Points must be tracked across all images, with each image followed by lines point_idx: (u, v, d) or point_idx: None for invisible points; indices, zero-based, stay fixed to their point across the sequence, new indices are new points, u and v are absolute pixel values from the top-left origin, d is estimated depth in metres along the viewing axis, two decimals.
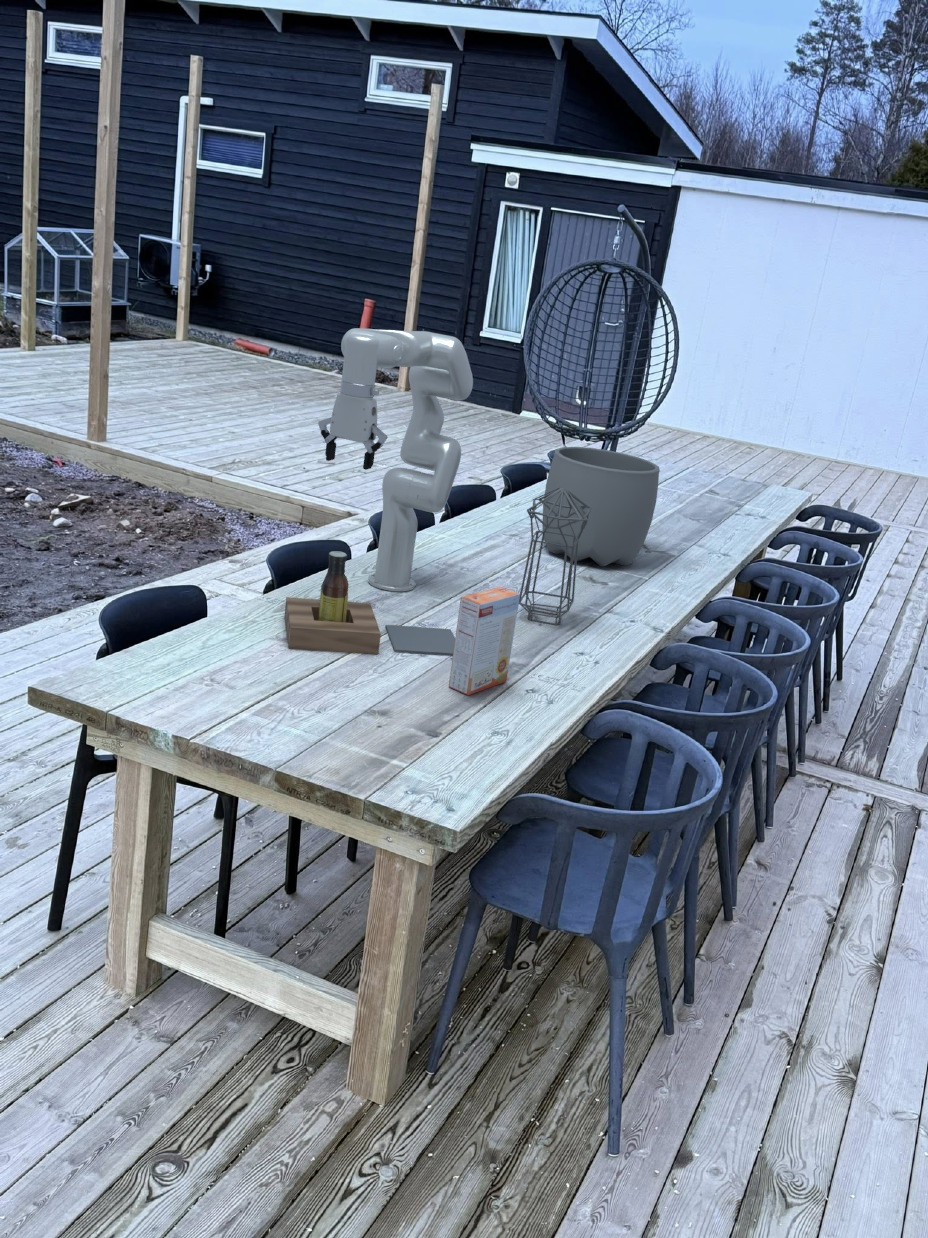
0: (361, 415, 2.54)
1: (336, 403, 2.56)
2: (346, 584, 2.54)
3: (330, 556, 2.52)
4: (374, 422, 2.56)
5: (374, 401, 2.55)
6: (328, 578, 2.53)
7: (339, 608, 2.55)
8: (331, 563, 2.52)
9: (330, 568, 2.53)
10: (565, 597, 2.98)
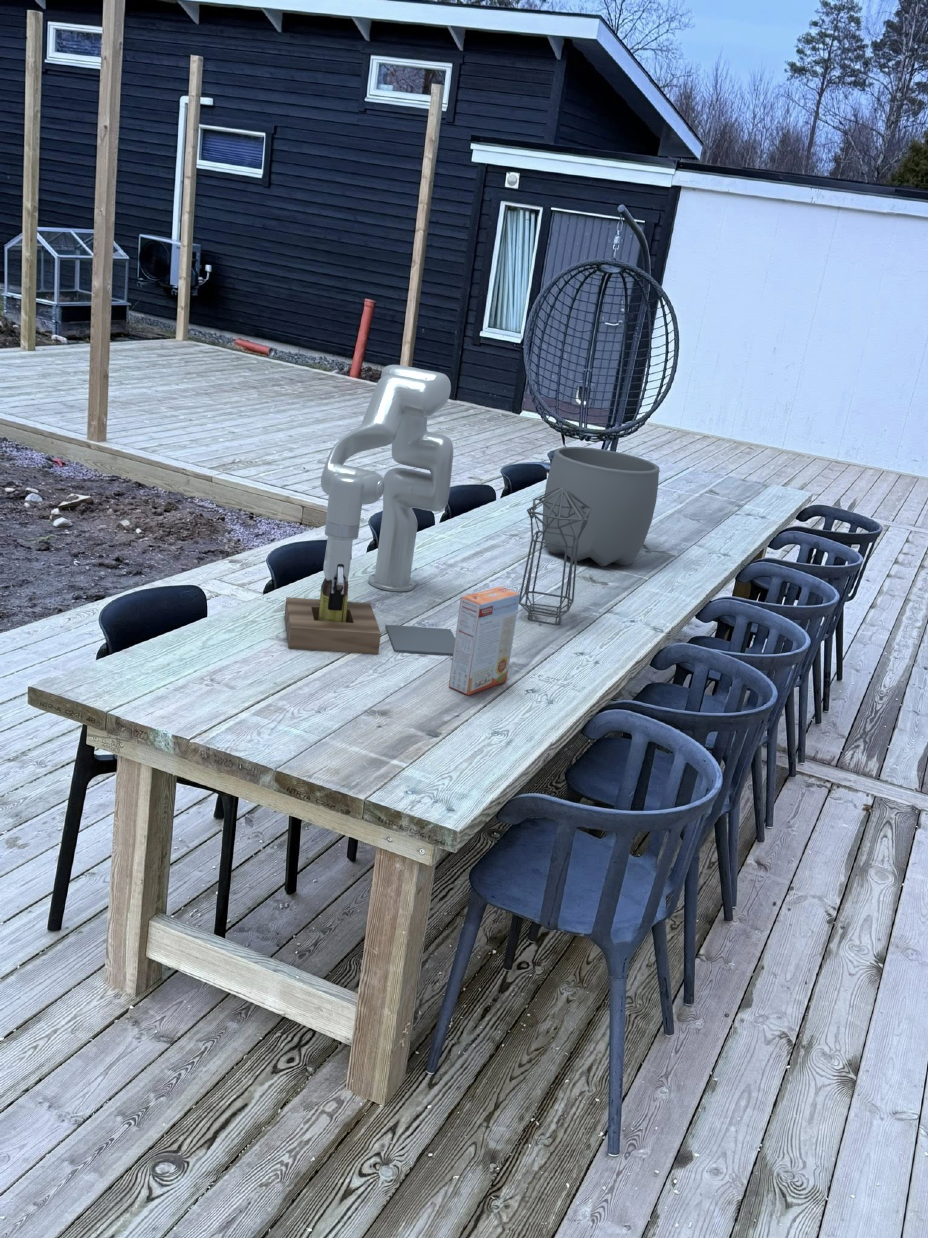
0: None
1: (351, 550, 2.50)
2: (346, 584, 2.54)
3: None
4: None
5: None
6: None
7: None
8: None
9: None
10: (565, 597, 2.98)
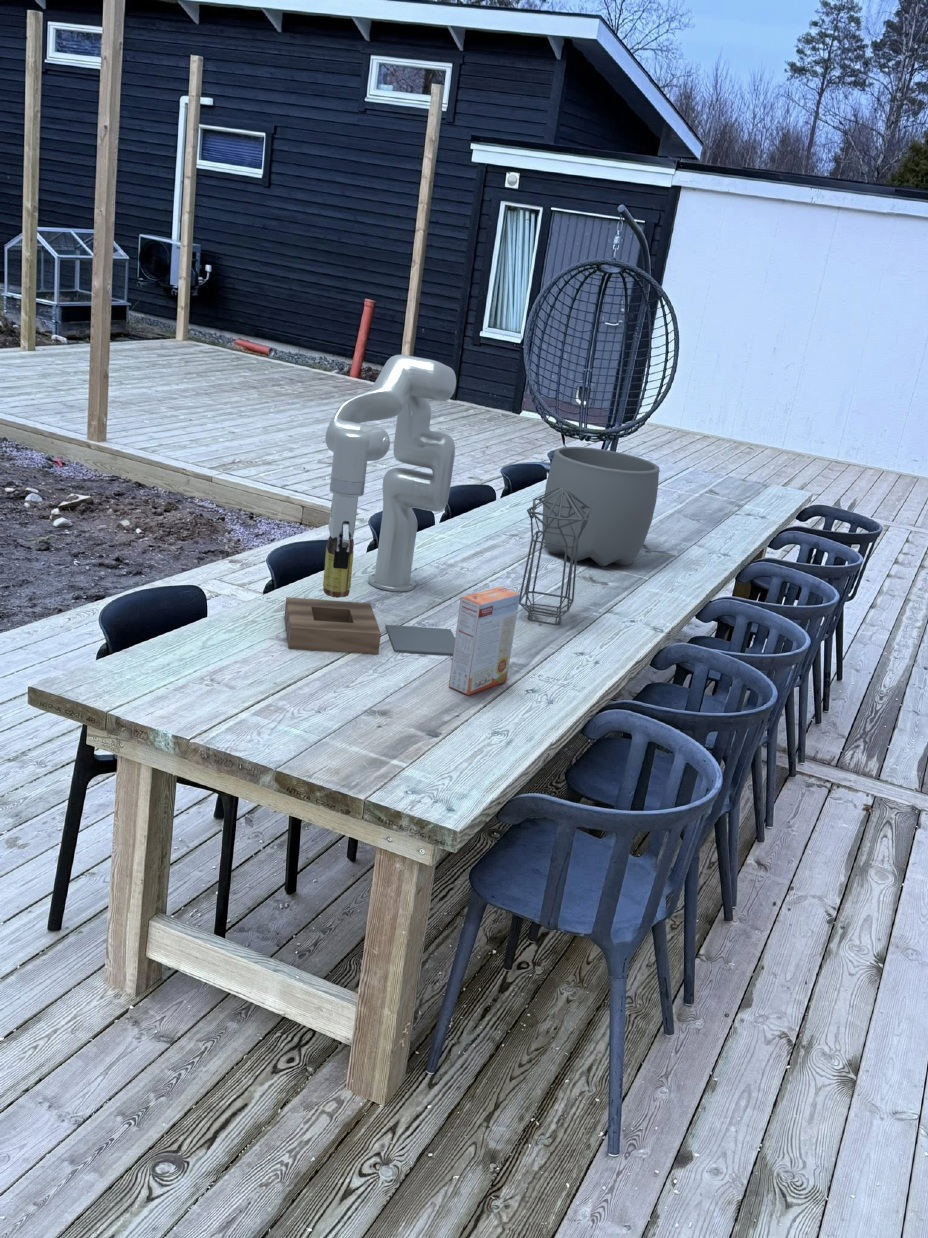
0: None
1: (356, 506, 2.47)
2: (351, 542, 2.52)
3: None
4: None
5: None
6: None
7: None
8: None
9: None
10: (565, 597, 2.98)
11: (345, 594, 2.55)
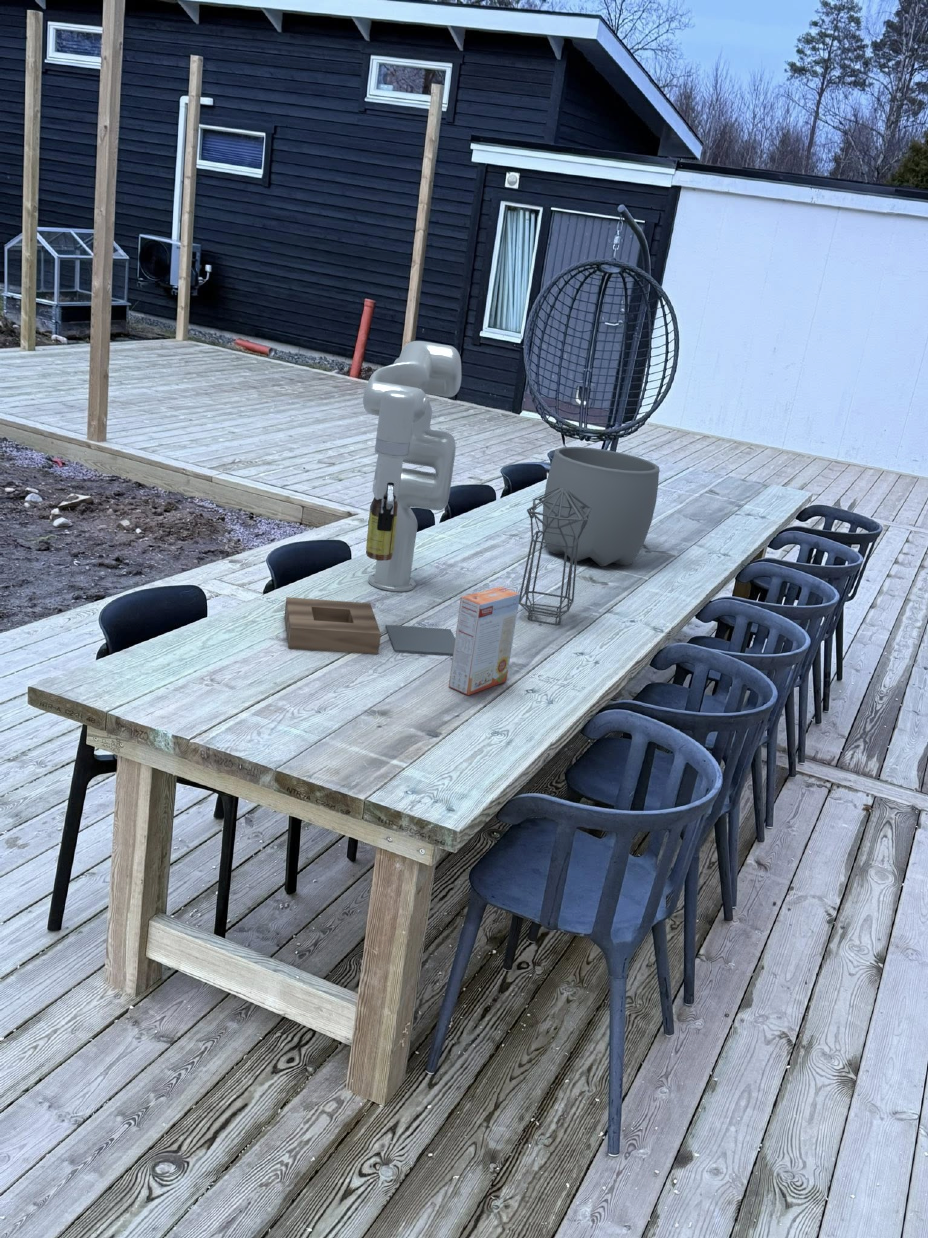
0: None
1: (401, 468, 2.45)
2: (395, 504, 2.50)
3: None
4: None
5: None
6: None
7: None
8: None
9: None
10: (565, 597, 2.98)
11: (388, 557, 2.54)
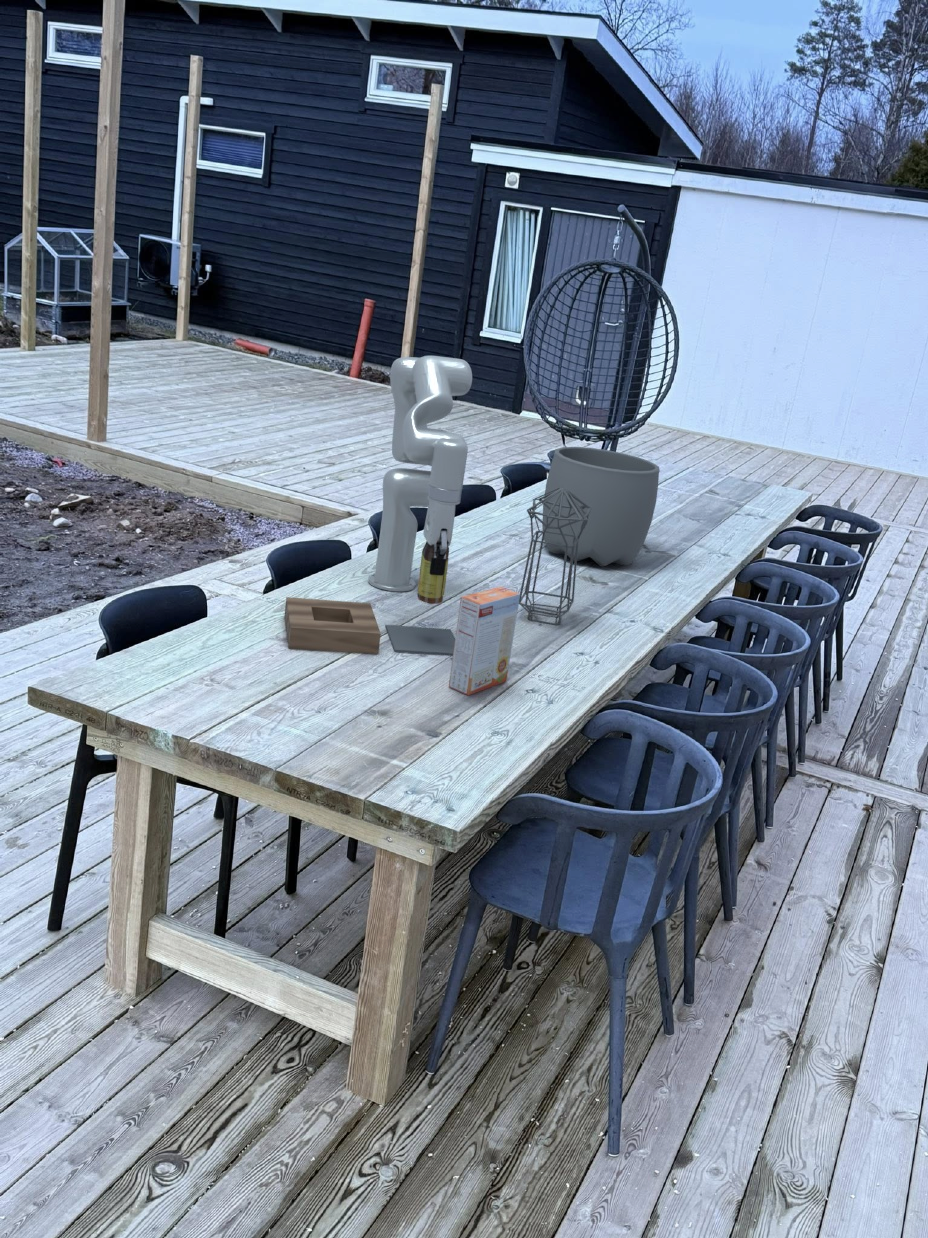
0: None
1: (454, 514, 2.52)
2: (447, 549, 2.56)
3: None
4: None
5: None
6: None
7: None
8: None
9: None
10: (565, 597, 2.98)
11: (439, 600, 2.60)
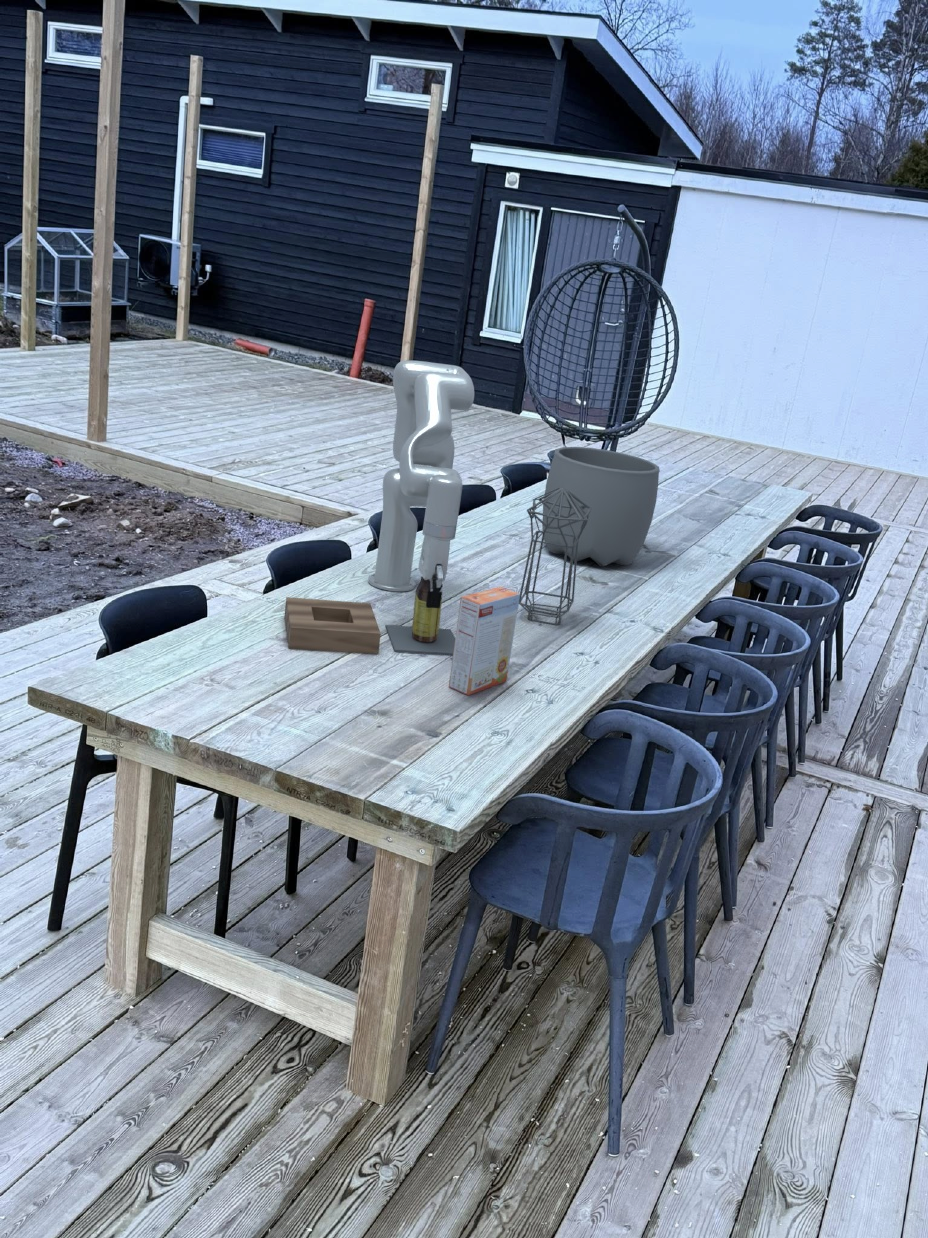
0: None
1: None
2: None
3: None
4: None
5: None
6: (423, 583, 2.58)
7: (434, 612, 2.60)
8: None
9: None
10: (565, 597, 2.98)
11: (434, 639, 2.63)
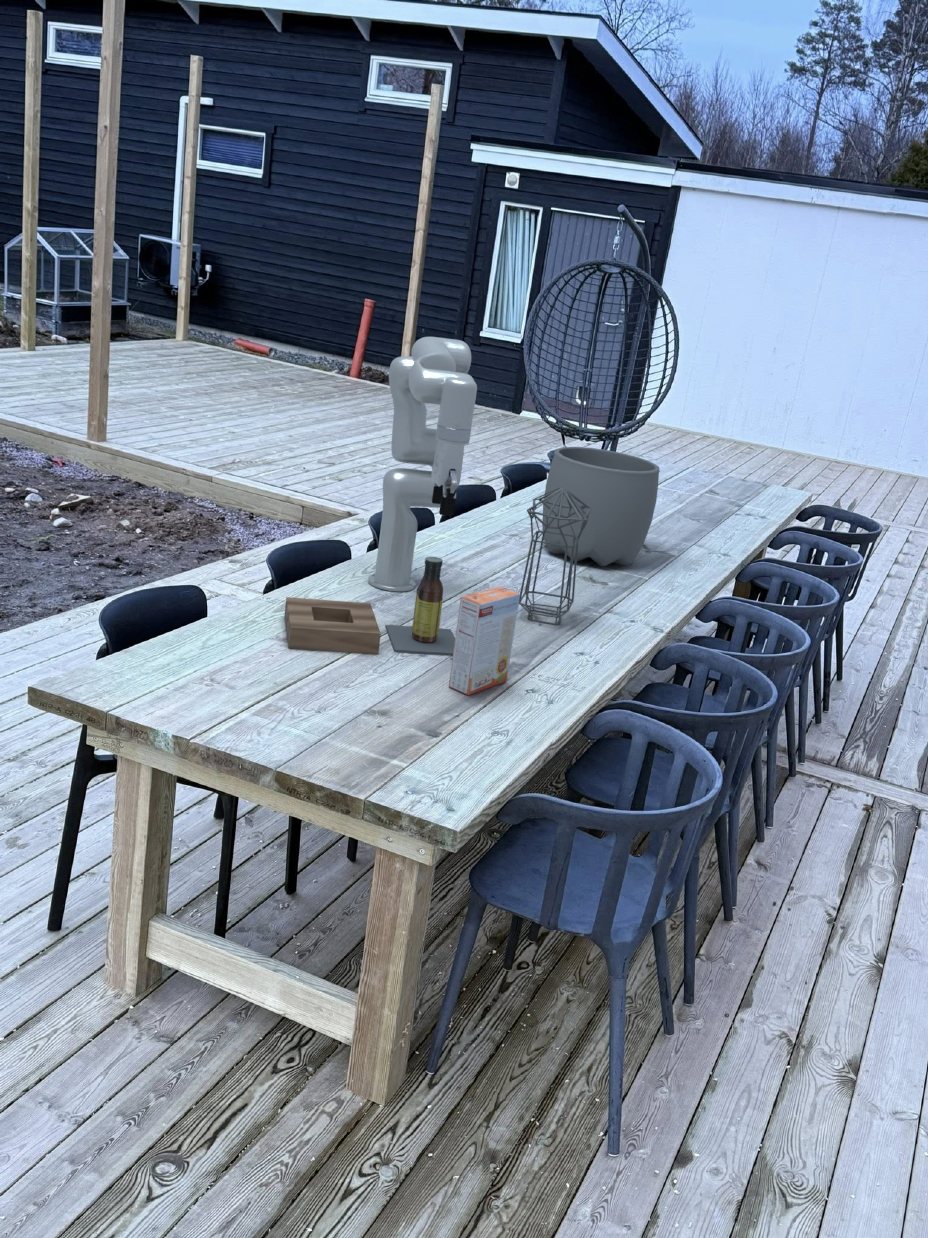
0: None
1: (463, 454, 2.47)
2: (441, 589, 2.59)
3: (427, 561, 2.57)
4: None
5: None
6: (424, 583, 2.58)
7: (434, 612, 2.60)
8: (427, 569, 2.57)
9: (426, 573, 2.58)
10: (565, 597, 2.98)
11: (434, 639, 2.63)
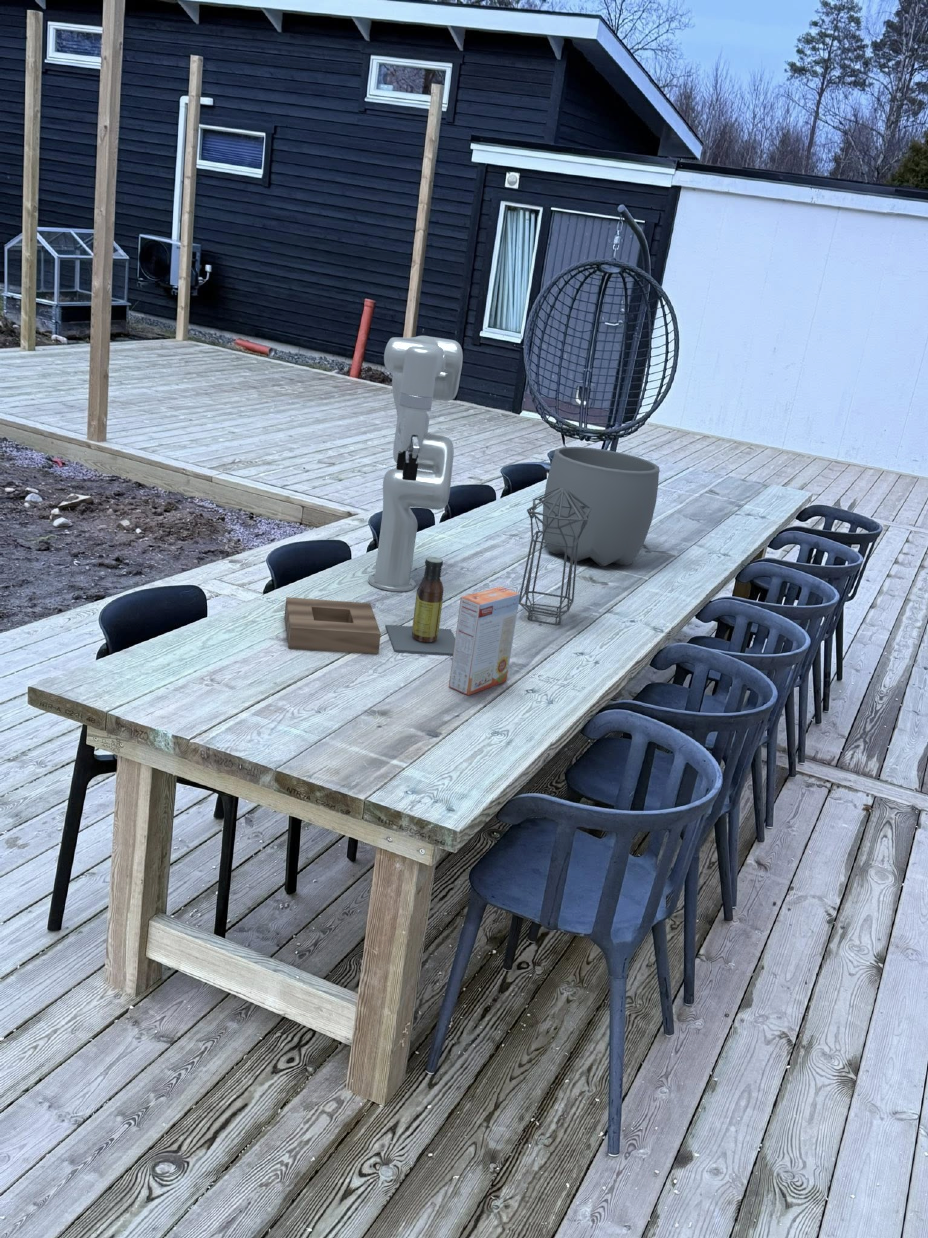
0: None
1: (425, 421, 2.56)
2: (442, 589, 2.59)
3: (427, 562, 2.57)
4: None
5: None
6: (425, 583, 2.58)
7: (434, 612, 2.60)
8: (428, 569, 2.57)
9: (427, 573, 2.58)
10: (565, 597, 2.98)
11: (434, 639, 2.63)
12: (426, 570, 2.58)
